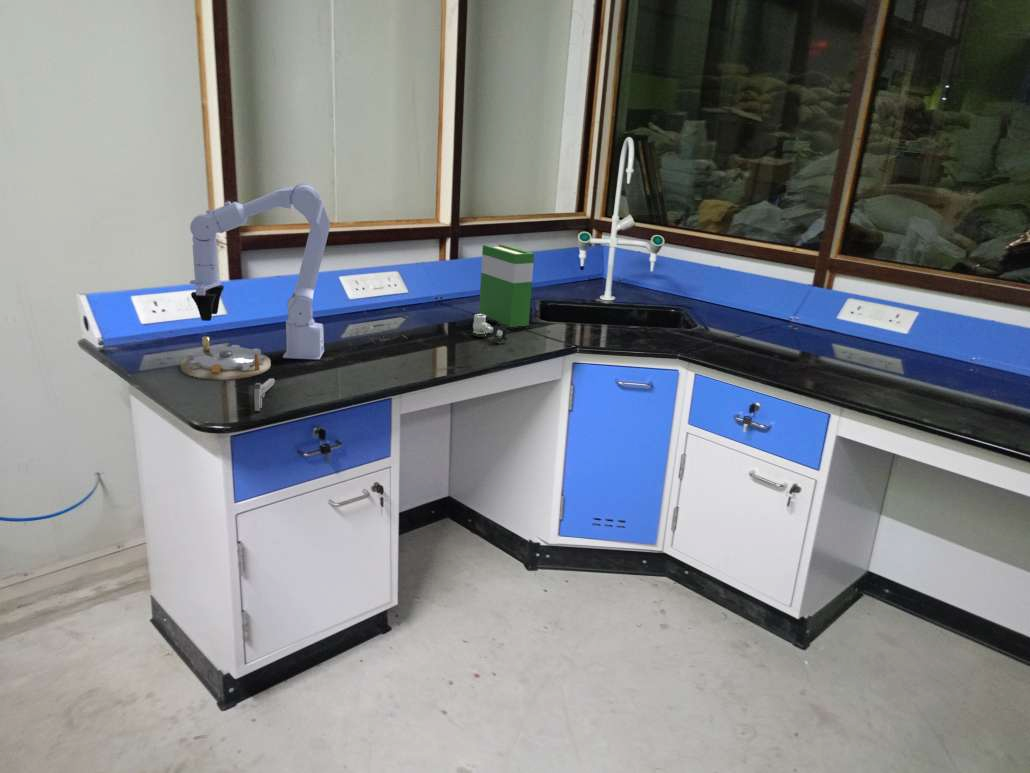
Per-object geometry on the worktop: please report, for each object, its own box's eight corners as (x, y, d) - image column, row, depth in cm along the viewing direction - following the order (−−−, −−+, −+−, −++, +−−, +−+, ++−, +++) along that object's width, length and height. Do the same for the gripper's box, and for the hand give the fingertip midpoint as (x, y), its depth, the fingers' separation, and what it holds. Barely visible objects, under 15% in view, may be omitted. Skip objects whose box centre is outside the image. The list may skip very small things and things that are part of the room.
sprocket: (271, 352, 199) (271, 333, 198) (254, 374, 182) (254, 353, 181) (200, 349, 198) (198, 329, 196) (176, 371, 181) (174, 350, 179)
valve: (466, 336, 233) (492, 345, 225) (467, 314, 231) (493, 324, 222) (483, 333, 237) (508, 342, 229) (484, 312, 235) (510, 321, 227)
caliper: (260, 413, 164) (259, 386, 162) (254, 413, 163) (253, 386, 161) (275, 382, 183) (274, 357, 181) (270, 382, 182) (269, 357, 180)
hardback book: (478, 316, 256) (482, 245, 248) (496, 314, 260) (501, 244, 253) (510, 329, 243) (515, 254, 235) (528, 327, 247) (534, 253, 240)
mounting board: (278, 355, 201) (278, 337, 200) (259, 381, 181) (258, 361, 180) (196, 351, 199) (195, 333, 198) (168, 377, 179) (166, 357, 178)
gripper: (196, 257, 195) (200, 309, 200) (181, 268, 182) (185, 323, 186) (225, 259, 196) (228, 310, 201) (212, 270, 183) (215, 324, 187)
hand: (209, 317), depth 193 cm, fingers open, 6 cm apart
